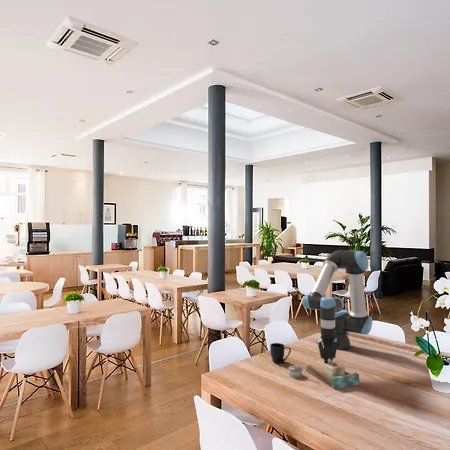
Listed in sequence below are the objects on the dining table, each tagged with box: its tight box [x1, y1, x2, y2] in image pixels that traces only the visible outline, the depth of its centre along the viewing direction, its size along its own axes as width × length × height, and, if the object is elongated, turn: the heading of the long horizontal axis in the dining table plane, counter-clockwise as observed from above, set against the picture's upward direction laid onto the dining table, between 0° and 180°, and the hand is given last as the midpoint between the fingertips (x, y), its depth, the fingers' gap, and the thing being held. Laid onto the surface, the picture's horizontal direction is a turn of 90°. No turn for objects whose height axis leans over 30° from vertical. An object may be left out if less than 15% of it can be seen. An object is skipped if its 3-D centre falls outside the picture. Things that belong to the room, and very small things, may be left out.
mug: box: [269, 342, 292, 364], centre depth 213 cm, size 8×12×10 cm
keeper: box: [323, 361, 346, 378], centre depth 188 cm, size 8×7×8 cm
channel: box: [305, 364, 360, 390], centre depth 190 cm, size 15×24×5 cm, turn 20°
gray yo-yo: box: [288, 365, 304, 379], centre depth 193 cm, size 7×7×4 cm
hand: (328, 371), depth 193 cm, fingers closed
